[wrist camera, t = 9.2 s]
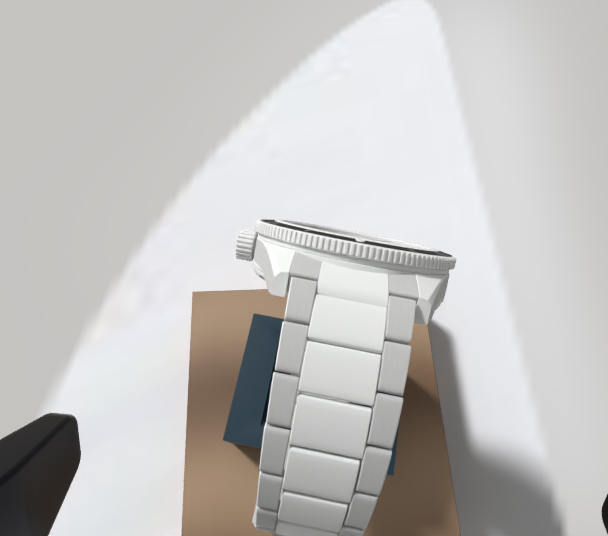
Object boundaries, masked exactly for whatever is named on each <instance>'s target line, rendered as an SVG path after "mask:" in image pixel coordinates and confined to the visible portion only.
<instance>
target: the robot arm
mask: <svg viewBox="0 0 608 536" xmlns="http://www.w3.org/2000/svg"><path fill="white" fill-rule="evenodd" d="M80 458H81V450H80V441H79V433H78V424H77V420H76V418H75V417H74V416H73V415H69V414H59V413H49V414H46V415H44V416H42V417H40V418H38V419H37V420H35V421H33V422H31V423H29V424H28V425H26V426H24V427H22V428H20V429H19V430H17V431H15V432H13V433H11V434H9V435H8V436H6V437H4V438H2V439H1V440H0V536H48V535H49V533H50V530H51V528H52V526H53V524H54V521H55V519H56V517H57V515H58V512H59V510H60V508H61V505H62V503H63V501H64V499H65V496H66V494H67V492H68V490H69V487H70V485H71V483H72V481H73V478H74V476H75V474H76V472H77V469H78V466H79V463H80ZM602 519H603V523H604V526H605V528H606V531H607V533H608V495H607V497H606V499H605V501H604V503H603V506H602Z"/></svg>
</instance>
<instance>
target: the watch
mask: <svg viewBox="0 0 608 536" xmlns="http://www.w3.org/2000/svg"><path fill="white" fill-rule="evenodd" d="M257 232H258V233H259V236H258V233H257ZM236 258H237V259H242V260H247V261H252V260H253V259H254V260H253V265H254V269H255V272H256V274H257V275H258V276H259V277H261V278H262V279H264V280H265V281H266V284H267V288H268V292H269V293H270V294H271V295H274V296H279V297H285V296H286V292H289V293H288V299H287V305H286V311H285V317H284V319H281V318H276V317H271V316H266V315H261V314H255V313H254V314H253V318H252V322H251V327H250V331H249V335H248V339H247V343H246V347H245V351H244V355H243V359H242V363H241V367H240V371H239V376H238V380H237V384H236V388H235V392H234V396H233V400H232V404H231V408H230V412H229V416H228V420H227V425H226V429H225V433H224V437H223V441H226V442H229V443H232V444H236V445H241V446H246V447H251V448H255V449H260V450H261V457H260V465H259V470H260V473H259V481H258V491H257V501H256V506H255V511H254V515H253V520H252V522H253V524H254V526H255V528H256V529H258V530H262V531H265V532H267V533H270V534H273V535H277V536H363V534H364V529H366V527H367V525H368V523H369V521H370V518H371V516H372V513H373V511H374V508H375V505H376V503H377V499H378V495H380V493H381V490H382V487H383V484H384V481H385V478H386V475H392V476H394V466H395V457H396V447H397V437H398V428H399V419H400V414H401V409H402V405H403V398H402V395H403V393H404V389H405V383H406V378H407V372H408V366H409V360H410V353H411V346H410V345H409V344H410V343H411V339H412V332H413V325H414V323H418V324H424V325H428V324H429V323H430V321H431V318H432V316H433V313H434V311H435V310H436V309H437V308H438V307H439V306H440V304H441V303H442V302H443V299H444V296H445V292H446V287H447V283H448V278H449V270H450V269H454V267H455V262H456V258H455V257H453V256H451V255H449V254H446V253H444V252H441V251H438V250H436V249H433V248H429V247H426V246H422V245H418V244H414V243H409V242H405V241H400V240H395V239H390V238H385V237H380V236H375V235H370V234H365V233H360V232H354V231H349V230H344V229H338V228H332V227H327V226H321V225H315V224H309V223H302V222H296V221H288V220H259V221H257V223H256V228H255V231H253V230H247V229H241V231H240V233H239V236H238V240H237V245H236Z"/></svg>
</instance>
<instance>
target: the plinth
mask: <svg viewBox="0 0 608 536" xmlns="http://www.w3.org/2000/svg"><path fill="white" fill-rule="evenodd" d="M288 293H289V292H286V296H285V297H279V296H274V295H271V294H270V293H269V292H268V289H262V290H233V291H204V292H193V297H192V319H191V341H190V363H189V384H188V406H187V428H186V449H185V471H184V493H183V515H182V536H277V535H273V534H270V533H267V532H265V531H262V530H258V529H256V528H255V526H254V524H253V522H252V520H253V515H254V511H255V506H256V501H257V491H258V481H259V473H260V470H259V465H260V457H261V450H260V449H255V448H251V447H246V446H241V445H236V444H232V443H229V442H226V441H223V437H224V433H225V429H226V425H227V420H228V416H229V412H230V408H231V404H232V400H233V396H234V392H235V388H236V384H237V380H238V376H239V371H240V367H241V363H242V359H243V355H244V351H245V347H246V343H247V339H248V335H249V331H250V327H251V322H252V318H253V314H254V313H255V314H261V315H266V316H271V317H276V318H281V319H284V317H285V311H286V305H287V299H288ZM409 345H410V346H411V353H410V360H409V366H408V372H407V378H406V383H405V389H404V393H403V395H402V398H403V405H402V409H401V414H400V419H399V428H398V437H397V447H396V457H395V466H394V476H392V475H386V478H385V481H384V484H383V487H382V490H381V493H380V495H378V499H377V503H376V505H375V508H374V511H373V513H372V516H371V518H370V521H369V523H368V525H367V527H366V529H364V534H363V536H461V535H460V529H459V522H458V516H457V510H456V503H455V497H454V491H453V484H452V478H451V472H450V465H449V459H448V453H447V446H446V440H445V434H444V427H443V421H442V415H441V408H440V402H439V396H438V389H437V383H436V377H435V370H434V364H433V358H432V351H431V345H430V339H429V332H428V326H427V325H424V324H418V323H414V325H413V332H412V339H411V343H410V344H409Z"/></svg>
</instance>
